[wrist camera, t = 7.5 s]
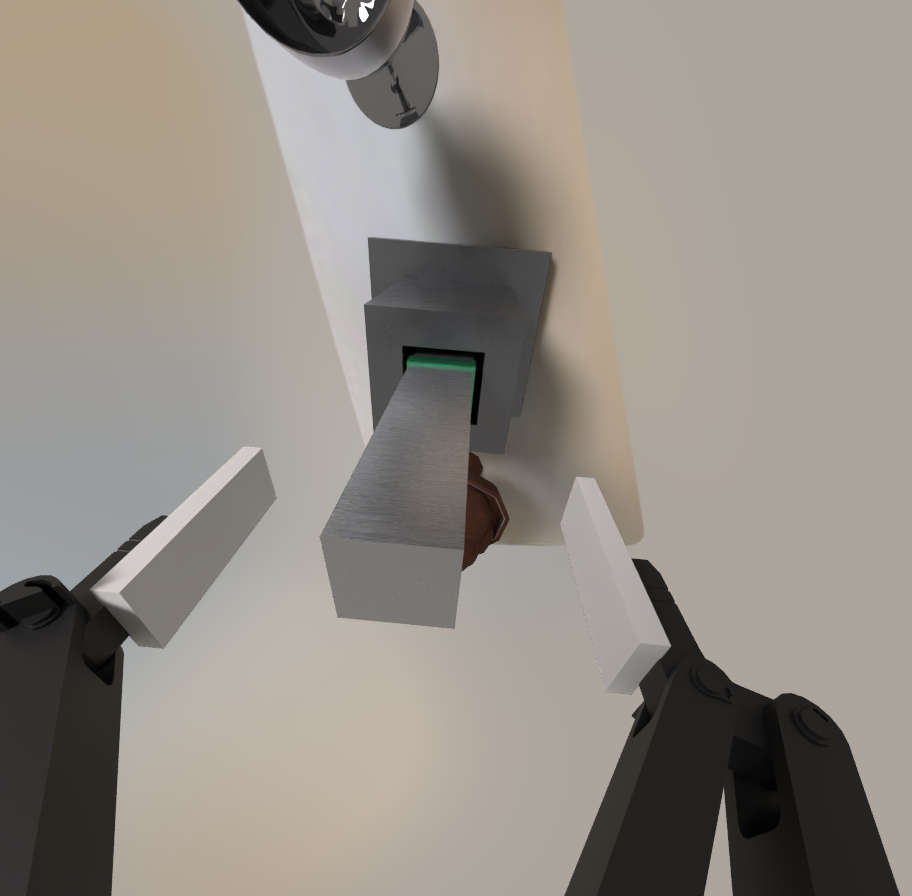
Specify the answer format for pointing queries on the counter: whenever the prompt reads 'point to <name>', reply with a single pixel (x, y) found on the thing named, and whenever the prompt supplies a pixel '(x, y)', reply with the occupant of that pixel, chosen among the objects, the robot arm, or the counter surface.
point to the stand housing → (456, 321)
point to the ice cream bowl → (481, 513)
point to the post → (407, 501)
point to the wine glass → (360, 49)
